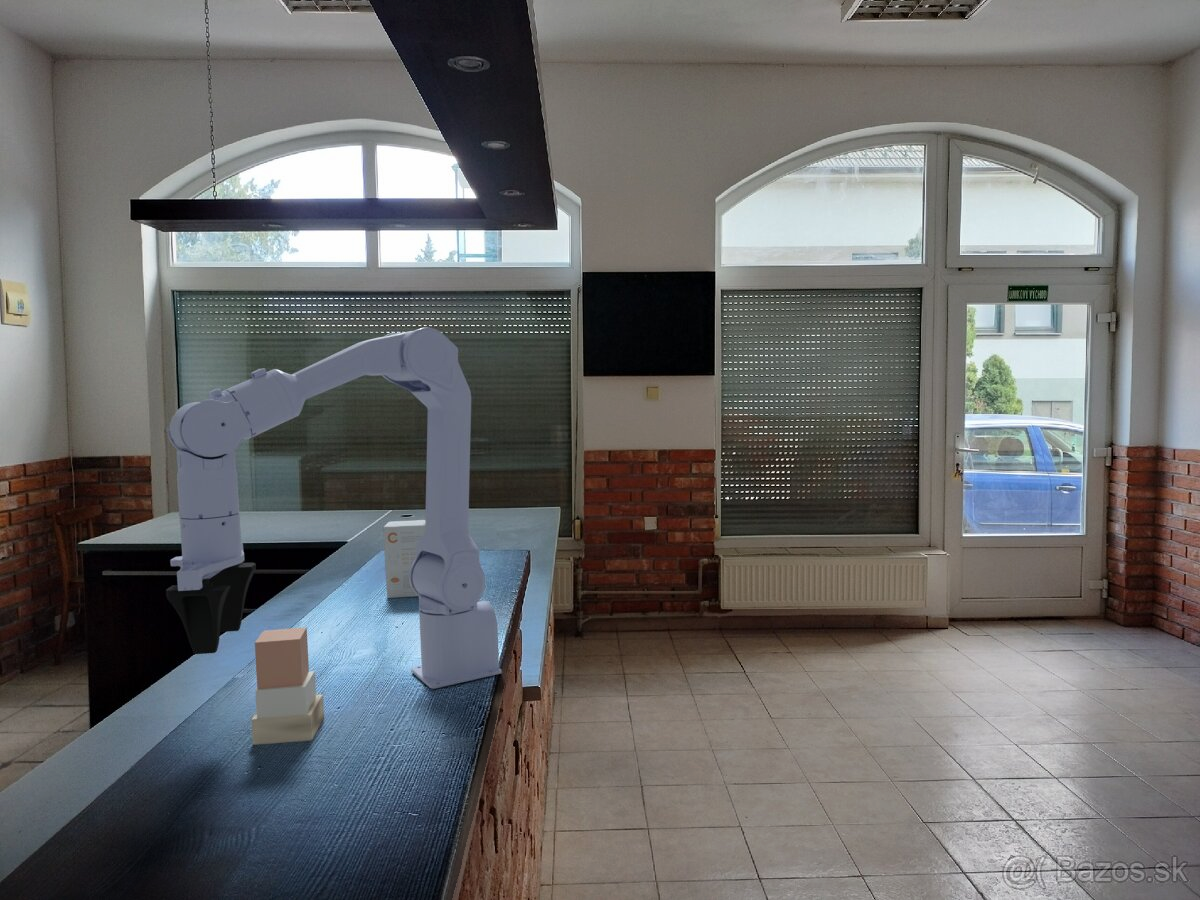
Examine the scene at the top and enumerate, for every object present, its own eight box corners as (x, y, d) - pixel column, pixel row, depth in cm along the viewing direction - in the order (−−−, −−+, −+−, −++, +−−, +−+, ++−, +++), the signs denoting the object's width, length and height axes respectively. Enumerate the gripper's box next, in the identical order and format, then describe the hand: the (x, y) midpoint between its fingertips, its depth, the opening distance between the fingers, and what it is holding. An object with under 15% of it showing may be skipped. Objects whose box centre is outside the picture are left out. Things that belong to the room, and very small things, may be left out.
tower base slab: (269, 724, 91) (267, 698, 91) (324, 720, 92) (323, 694, 91) (253, 747, 85) (251, 719, 85) (312, 742, 86) (310, 715, 85)
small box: (436, 587, 151) (432, 518, 150) (432, 596, 145) (429, 524, 144) (391, 590, 150) (388, 520, 149) (386, 598, 144) (382, 526, 143)
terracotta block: (266, 674, 89) (263, 630, 89) (308, 671, 90) (306, 627, 90) (257, 689, 85) (254, 642, 85) (302, 685, 86) (299, 638, 86)
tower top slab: (269, 700, 90) (267, 674, 90) (316, 697, 91) (314, 670, 90) (256, 718, 85) (255, 690, 85) (306, 714, 86) (305, 686, 85)
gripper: (194, 507, 92) (202, 624, 93) (140, 528, 78) (149, 666, 79) (259, 504, 93) (266, 620, 94) (217, 524, 79) (226, 661, 80)
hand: (218, 641), depth 86 cm, fingers open, 7 cm apart
